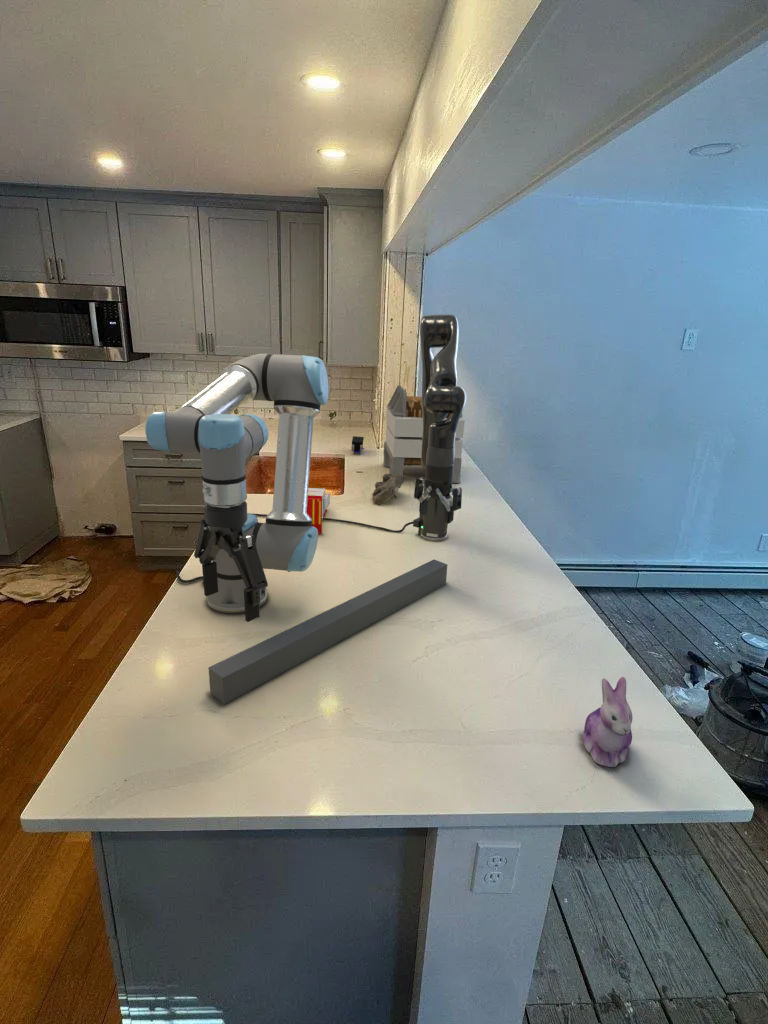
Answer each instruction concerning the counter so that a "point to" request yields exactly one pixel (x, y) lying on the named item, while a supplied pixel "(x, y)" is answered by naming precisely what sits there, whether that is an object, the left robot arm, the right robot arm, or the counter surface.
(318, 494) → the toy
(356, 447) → the figurine character
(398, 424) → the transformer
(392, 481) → the fossil
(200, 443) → the left robot arm
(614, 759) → the figurine
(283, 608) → the counter surface
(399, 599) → the post
